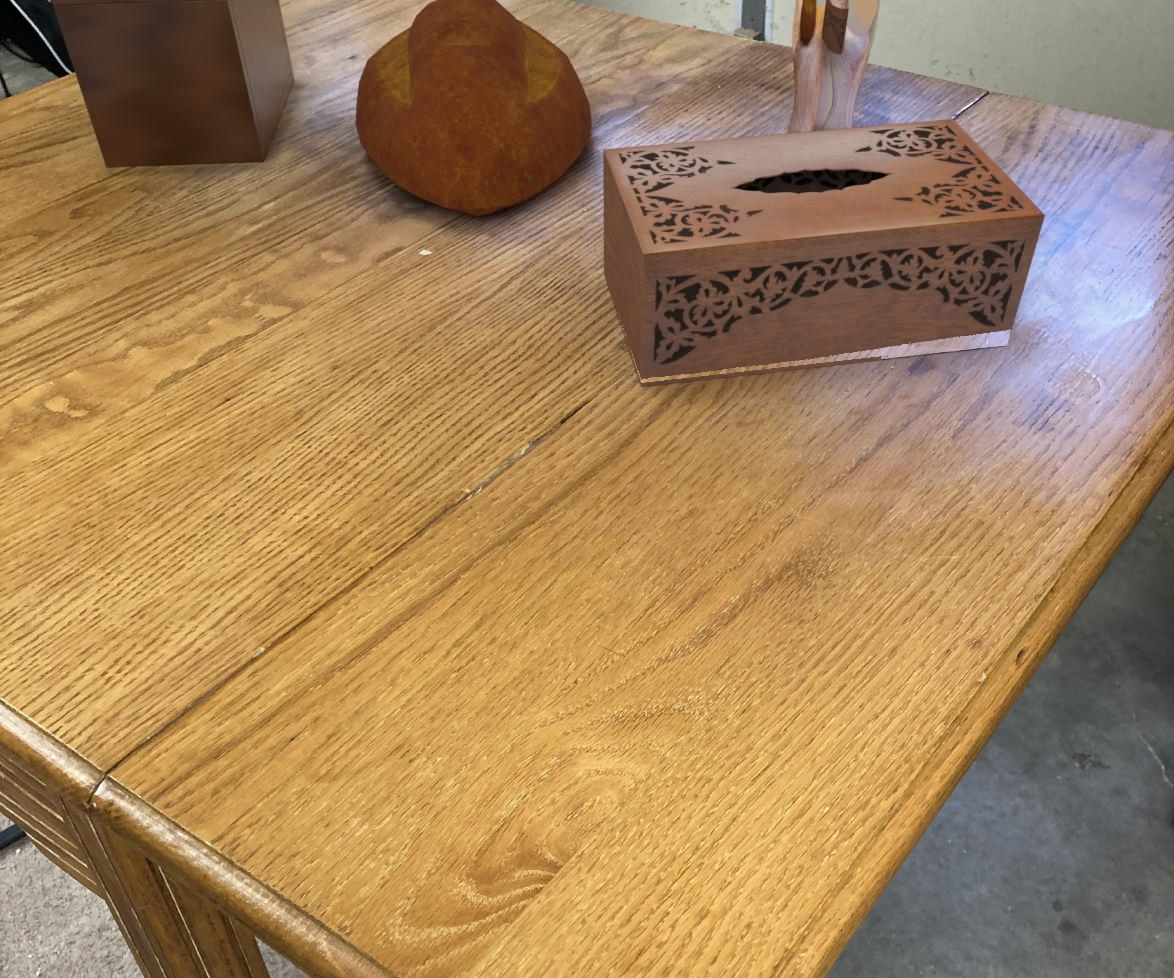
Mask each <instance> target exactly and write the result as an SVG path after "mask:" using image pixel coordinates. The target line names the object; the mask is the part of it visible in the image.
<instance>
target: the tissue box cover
mask: <svg viewBox="0 0 1174 978" xmlns="http://www.w3.org/2000/svg"><path fill="white" fill-rule="evenodd" d="M602 156H603V157H602V161H603V162H602V163H603V164H602V169H603V171H602V172H603V175H602V176H603V178H602V179H603V185H602V186H603V275H604V278H605V281H606V284H607V287H608V290H609V293H610V296H611V299H612V303H613V305H614V309H615V311H616V315H617V317H618V321H619V324H620V327H621V330H622V333H623V337H624V339H625V342H626V345H627V348H628V352H629V354H630V356H631V360H632V364H633V367H634V370H635V373H636V376H637V379H638V382H639V385H640V387H649V386H658V385H667V384H676V383H677V384H678V383H685V382H694V381H702V380H704V381H705V380H713V379H714V380H715V379H721V378H722V379H723V378H730V377H739V376H740V377H741V376H749V375H758V374H767V373H776V372H785V371H793V370H805V369H812V368H821V367H830V366H839V365H840V366H841V365H849V364H858V363H866V362H875V361H876V362H877V361H881V360H880V359H881V357H882V356H879V357H870V358H861V359H852V360H843V361H834V362H825V363H816V364H807V365H798V366H789V367H780V368H771V369H762V370H753V371H744V372H735V373H727V374H718V375H709V376H700V377H691V378H682V379H673V380H664V381H655V382H646V383H641V382H640V378H639V375H638V372H637V369H638V371H639V374H640V377H641V379H644V378H645V379H648V378H651V377H665V376H673V375H681V374H685V375H686V374H694V373H701V372H708V371H716V370H723V369H729V368H736V367H740V368H741V367H747V366H750V367H751V366H753V365H755V366H758V365H768V364H771V363H773V364H774V363H780V362H788V361H789V362H790V361H796V360H797V361H799V360H805V359H808V360H809V359H814V358H820V357H829V356H830V355H832V356H834V355H839V354H844V353H853V352H858V351H860V352H861V351H866V350H874V349H879V348H884V347H885V348H886V347H889V346H890V347H892V346H897V345H898V346H900V345H902V344H909V343H911V344H912V343H916V342H918V343H919V342H924V341H926V342H927V341H932V340H933V341H934V340H938V339H946V338H950V337H951V338H953V337H957V336H958V337H960V336H969V335H971V336H972V335H976V334H983V333H990V332H997V331H998V332H999V331H1003V330H1004V331H1006V330H1009V329H1010V330H1012V331H1013V327H1014V324H1015V321H1016V317H1017V313H1018V310H1019V307H1020V304H1021V300H1022V296H1023V293H1024V290H1025V286H1026V282H1027V280H1028V275H1029V272H1030V269H1031V266H1032V262H1033V258H1034V255H1035V251H1036V248H1037V244H1038V241H1039V237H1040V234H1041V232H1042V231H1041V230H1042V227H1043V224H1044V221H1045V218H1046V217H1045V216H1046V214H1045V213H1044V212H1043V211H1042V210H1041V209H1040V208H1039V207H1038V206H1037V205H1036V204H1035V202H1034V201H1032V200H1031V199H1030V197H1028V195H1027V194H1025V192H1024V191H1023V190H1022V189H1021V188H1020V186H1018V185H1017V183H1015V182H1014V180H1012V178H1010V176H1009V175H1008V174H1007V173H1006V172H1005V171H1004V170H1003V169H1002V168H1001V167H1000V166H999V165H998V164H997V163H996V162H995V161H994V159H992V157H991V156H990V155H989V154H988V153H987V152H985V150H984V149H983V148H982V147H981V146H980V145H979V144H978V142H976V140H974V139H973V138H972V137H971V135H969V133H967V131H966V130H964V128H963V127H962V126H961V125H960V124H959V123H958V122H957V121H956V120H955V119H954V118H950V119H939V120H937V119H936V120H926V121H913V122H904V123H893V124H882V125H881V124H880V125H868V126H856V127H854V128H844V129H833V130H821V131H810V132H798V133H775V134H764V135H754V136H741V137H730V138H729V137H728V138H720V139H719V138H718V139H707V140H696V141H685V142H683V141H682V142H672V143H660V144H650V145H638V146H626V147H615V148H614V147H613V148H604V149H603V150H602ZM619 317H620V318H619ZM620 320H621V321H620ZM622 325H623V327H622ZM623 328H624V330H623ZM624 332H625V333H624ZM625 334H626V336H625ZM626 337H627V339H626ZM627 340H628V342H627ZM628 343H629V345H628ZM629 346H630V348H631V351H632V354H633V357H634V360H635V363H636V366H637V369H636V366H635V363H634V360H633V357H632V354H631V351H630V348H629ZM884 357H885V356H884ZM887 357H888V356H887ZM873 360H874V361H873Z"/></svg>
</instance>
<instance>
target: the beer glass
mask: <svg viewBox="0 0 1174 978" xmlns="http://www.w3.org/2000/svg"><path fill="white" fill-rule="evenodd" d="M880 6H881V0H795V2H794V10H793V17H792V19H793V20H792V31H791V39H792V40H791V42H792V43H791V44H792V45H791V47H792V49H791V51H792V65H793V81H794V96H793V97H794V99H793V105H792V106H793V107H792V112H791V115H790V118H789V122H788V125H787V128H786V129H787V130H786V133H798V132H810V131H821V130H833V129H844V128H855V126H854V125H855V124H854V122H855V121H854V115H855V105H856V102H857V101H856V100H857V95H858V92H859V89H860V87H861V83H862V79H863V76H864V74H865V71H866V69H867V65H868V61H869V58H870V56H871V53H872V49H873V45H874V42H875V39H876V32H877V28H878V22H879V15H880ZM786 133H785V134H786Z"/></svg>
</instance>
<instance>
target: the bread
mask: <svg viewBox="0 0 1174 978" xmlns="http://www.w3.org/2000/svg"><path fill="white" fill-rule="evenodd" d="M587 96H588V95H587V94H586V92H585V89H584V87H583V84H582V82H581V79H580V77H579V76H578V74H577V71H576V69H575V68H574V66H573V64H572V62H571V60H570V58H569V56H568V54H566V53H565V52H564V51H563V50H562V49H561V48H559V47H558V46H557V45H556V44H555V43H554V42H553V41H551V40H550V39H548V38H547V37H545V36H544V35H542V34H541V33H540V32H539V31H537V30H536V29H534V28H533V27H531V26H529V25H527V24H526V23H524V22H523V21H521V20H519V19H517V18H516V16H514V15H513V13H511V12H510V11H509V10H507V9H506V8H505V7H504V6H503V5H502V4H501V3H500V2H499V1H498V0H433V1H430V2H428V3H427V4H426V5H425V6H424V7H423V8H422V9H421V10H420V11H419V12H418V13H417V14H416V15H415V17H414V19H413V21H412V23H411V25H410V27H408V28H406V29H404V30H403V31H401V32H399V33H398V34H396V35H395V36H393V37H392V38H391V39H389V41H387V42H386V43H385V44H384V45H382V46H381V47H380V48H379V49H378V50H377V51H375V53H373V54H372V55H371V56H369V58H368V59H367V60H366V63H365V65H364V68H363V70H362V73H361V76H360V78H359V81H358V87H357V96H356V102H355V103H356V105H355V106H356V107H355V110H356V111H355V128H356V131H357V135H358V140H359V143H360V145H361V146H362V148H363V149H364V151H365V152H366V154H367V155H368V157H369V158H370V159H371V161H372V162H373V163H374V164H375V165H376V166H377V168H378V169H379V170H380V171H381V172H382V173H383V174H384V176H386V177H387V178H388V179H390V180H391V181H392V182H393V183H395V185H396V186H398V187H399V188H401V189H403V190H405V191H407V192H408V193H410V194H412V195H414V196H416V197H417V198H420V199H422V200H425V201H427V202H429V203H432V204H434V205H437V206H440V207H442V208H444V209H445V208H446V209H449V210H453V211H457V212H460V213H464V214H468V215H472V216H475V217H480V216H485V215H490V214H493V213H496V212H498V211H501V210H504V209H507V208H510V207H512V206H515V205H518V204H521V203H523V202H525V201H527V200H528V199H530V198H532V197H534V196H535V195H537V194H539V193H540V192H542V191H544V189H546V188H547V187H548V186H550V185H552V184H553V183H554V182H556V181H557V180H558V179H560V178H562V176H564V174H565V173H566V172H567V171H568V169H570V167H571V166H572V165H573V164H574V163H575V162H576V160H578V158H579V157H580V156H581V154H582V153H583V150H584V148H585V147H586V146H587V143H588V141H589V140H590V136H591V133H592V127H593V126H592V125H593V124H592V122H593V121H592V113H591V106H590V102H589V99H588V97H587Z"/></svg>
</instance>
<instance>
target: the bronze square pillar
mask: <svg viewBox="0 0 1174 978" xmlns="http://www.w3.org/2000/svg"><path fill="white" fill-rule="evenodd" d="M51 2H52V5H53V10H54V13H55V16H56V19H57V22H58V24H59V28H60V31H61V33H62V37H63V40H64V43H65V46H66V50H67V52H68V55H69V58H70V62H71V64H72V68H73V70H74V74H75V77H76V79H77V82H78V83H77V84H78V85H79V89H80V92H81V95H82V97H83V101H84V104H85V107H86V111H87V113H88V116H89V120H90V122H91V125H92V129H93V132H94V134H95V137H96V141H97V143H98V147H99V149H100V152H101V156H102V159H103V163H104V165H105V167H106V168H116V167H118V168H119V167H144V166H145V167H146V166H147V167H148V166H149V167H150V166H172V165H175V166H176V165H201V164H203V165H205V164H231V163H234V164H235V163H262V162H264V161H265V159H266V156H267V153H268V150H269V148H270V145H271V143H272V140H273V137H274V135H275V133H276V130H277V126H278V124H279V122H280V118H281V115H282V114H283V111H284V108H285V106H286V103H287V101H288V97H289V96H290V92H291V90H292V87H293V84H294V82H295V75H294V69H293V64H292V60H291V55H290V50H289V45H288V39H287V34H286V30H285V29H286V28H285V23H284V18H283V14H282V8H281V3H280V0H51Z"/></svg>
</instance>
